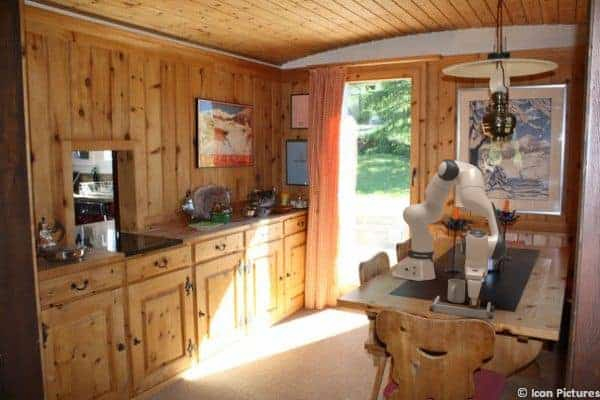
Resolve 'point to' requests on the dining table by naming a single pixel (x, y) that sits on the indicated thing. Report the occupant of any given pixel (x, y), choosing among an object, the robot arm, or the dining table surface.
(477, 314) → the cart frame
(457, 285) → the cup
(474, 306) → the walnut block
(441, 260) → the dining table surface
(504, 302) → the dining table surface
